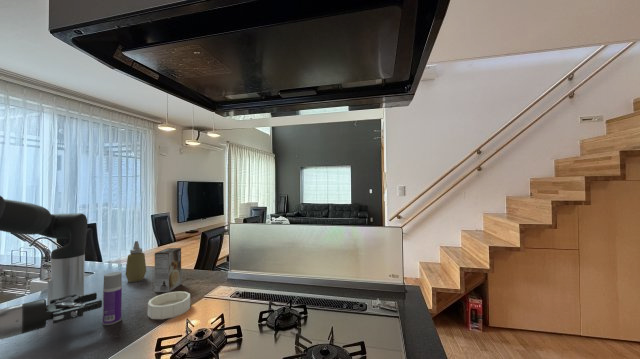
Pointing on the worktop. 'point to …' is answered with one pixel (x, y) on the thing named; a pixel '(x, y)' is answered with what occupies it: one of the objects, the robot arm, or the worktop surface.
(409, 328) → the worktop surface
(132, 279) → the squeeze bottle
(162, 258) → the coffee box
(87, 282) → the worktop surface
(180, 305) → the bowl
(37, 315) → the robot arm
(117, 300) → the container
